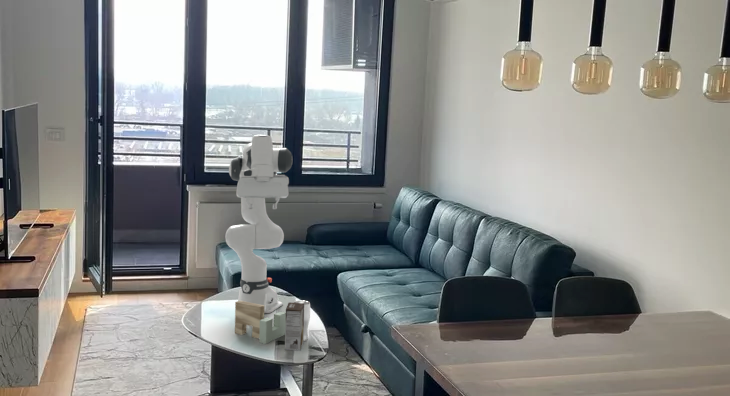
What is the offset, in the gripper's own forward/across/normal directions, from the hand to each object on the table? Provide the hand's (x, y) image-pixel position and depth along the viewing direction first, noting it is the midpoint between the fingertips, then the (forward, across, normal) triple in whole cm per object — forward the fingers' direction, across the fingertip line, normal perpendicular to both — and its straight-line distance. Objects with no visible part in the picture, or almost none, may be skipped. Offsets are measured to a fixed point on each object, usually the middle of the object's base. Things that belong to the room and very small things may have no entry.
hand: (262, 208), depth 270 cm
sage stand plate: (+50, -5, -15) cm, 52 cm away
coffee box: (+53, -12, -5) cm, 55 cm away
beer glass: (+51, -16, -12) cm, 55 cm away
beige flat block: (+48, +4, -20) cm, 52 cm away
